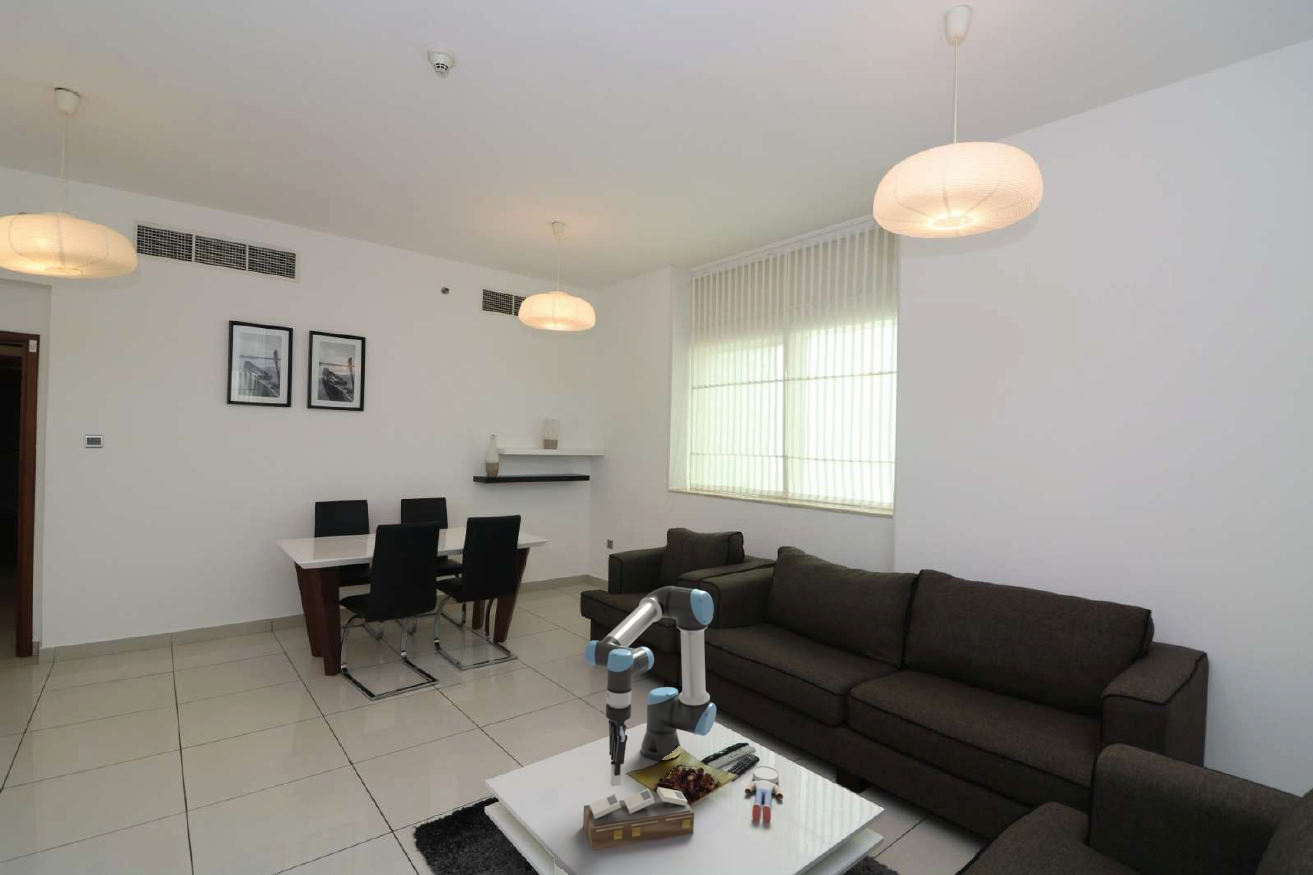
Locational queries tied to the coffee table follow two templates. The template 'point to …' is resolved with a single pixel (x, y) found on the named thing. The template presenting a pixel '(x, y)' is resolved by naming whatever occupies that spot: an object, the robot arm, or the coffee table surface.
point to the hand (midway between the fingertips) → (615, 784)
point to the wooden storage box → (638, 824)
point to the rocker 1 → (605, 806)
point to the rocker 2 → (671, 796)
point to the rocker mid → (639, 801)
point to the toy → (764, 790)
